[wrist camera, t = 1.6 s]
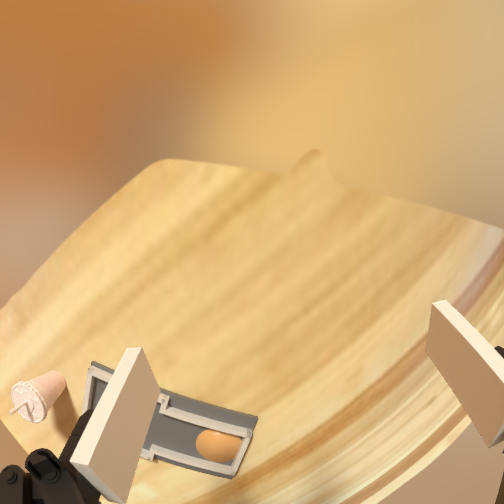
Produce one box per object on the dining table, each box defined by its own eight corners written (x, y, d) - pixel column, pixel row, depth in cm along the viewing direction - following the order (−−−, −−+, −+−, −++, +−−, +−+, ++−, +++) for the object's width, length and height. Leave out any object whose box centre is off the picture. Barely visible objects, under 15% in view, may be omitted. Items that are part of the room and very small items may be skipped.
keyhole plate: (231, 477, 42) (231, 484, 40) (83, 427, 41) (79, 432, 39) (257, 416, 42) (258, 423, 40) (92, 360, 41) (87, 365, 39)
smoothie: (73, 370, 41) (26, 407, 27) (72, 403, 41) (31, 444, 27) (41, 357, 40) (-9, 386, 26) (42, 390, 40) (-3, 424, 26)
